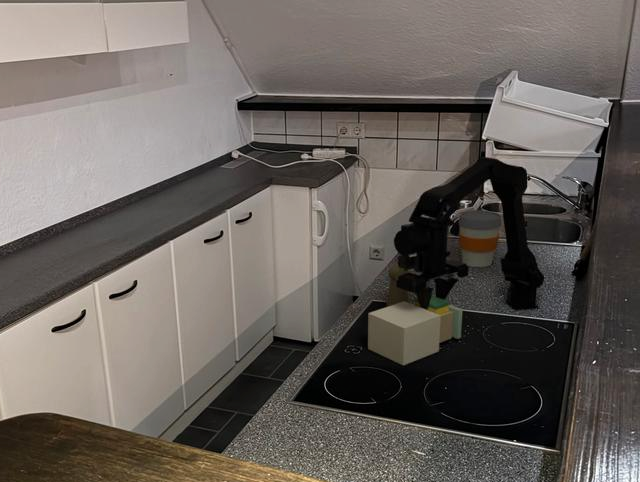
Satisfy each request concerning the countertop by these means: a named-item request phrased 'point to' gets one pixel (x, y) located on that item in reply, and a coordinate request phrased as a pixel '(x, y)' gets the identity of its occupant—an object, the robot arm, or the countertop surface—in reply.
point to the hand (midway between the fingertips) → (431, 309)
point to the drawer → (451, 324)
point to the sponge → (435, 305)
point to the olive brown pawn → (394, 292)
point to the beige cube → (403, 332)
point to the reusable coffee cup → (478, 237)
